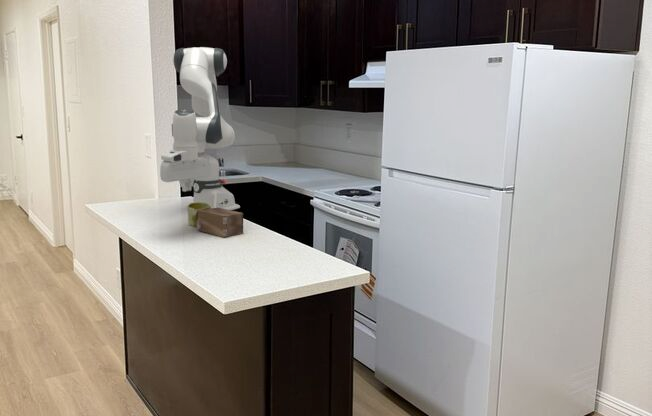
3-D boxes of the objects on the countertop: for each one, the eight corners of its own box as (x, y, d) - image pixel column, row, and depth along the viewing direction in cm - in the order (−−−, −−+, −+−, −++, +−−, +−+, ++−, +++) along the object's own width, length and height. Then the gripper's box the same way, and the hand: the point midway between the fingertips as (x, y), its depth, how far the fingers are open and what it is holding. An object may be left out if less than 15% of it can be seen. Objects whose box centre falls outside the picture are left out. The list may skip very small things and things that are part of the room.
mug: (190, 215, 246) (195, 195, 241) (213, 224, 244) (217, 204, 240) (176, 227, 235) (180, 206, 230) (199, 236, 234) (204, 215, 229)
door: (201, 229, 228) (200, 209, 227) (227, 236, 219) (227, 215, 217) (195, 231, 227) (195, 210, 225) (222, 237, 217) (222, 216, 215)
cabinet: (218, 227, 235) (217, 207, 233) (243, 233, 225) (243, 212, 224) (202, 230, 229) (201, 210, 227) (227, 237, 219) (226, 216, 218)
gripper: (203, 150, 226) (204, 185, 229) (157, 155, 211) (158, 193, 214) (213, 152, 222) (214, 188, 225) (167, 157, 207) (168, 196, 210)
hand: (186, 190), depth 220 cm, fingers closed
